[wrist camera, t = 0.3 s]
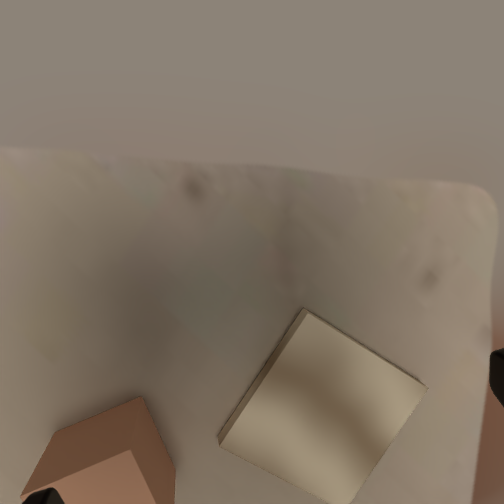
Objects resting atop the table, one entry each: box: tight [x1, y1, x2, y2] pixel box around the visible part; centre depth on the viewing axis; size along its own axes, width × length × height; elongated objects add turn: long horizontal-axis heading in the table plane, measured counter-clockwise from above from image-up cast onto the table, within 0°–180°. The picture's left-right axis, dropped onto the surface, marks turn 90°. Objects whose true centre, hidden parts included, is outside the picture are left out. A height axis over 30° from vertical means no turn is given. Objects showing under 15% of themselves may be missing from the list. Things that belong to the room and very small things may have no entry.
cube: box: [20, 396, 176, 504], centre depth 21 cm, size 5×5×5 cm
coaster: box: [218, 308, 429, 504], centre depth 25 cm, size 9×9×1 cm
